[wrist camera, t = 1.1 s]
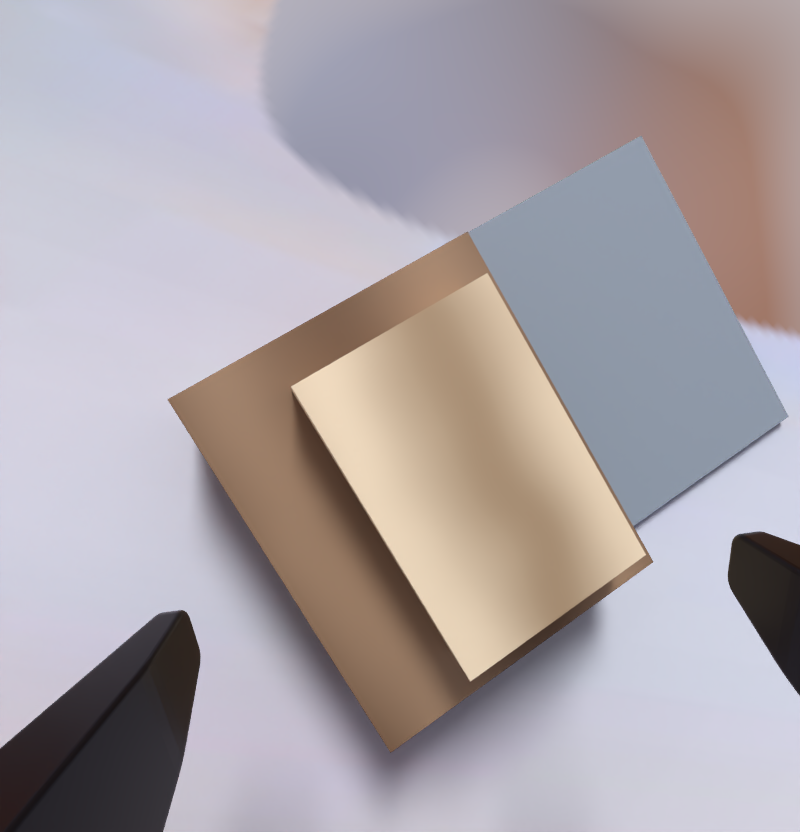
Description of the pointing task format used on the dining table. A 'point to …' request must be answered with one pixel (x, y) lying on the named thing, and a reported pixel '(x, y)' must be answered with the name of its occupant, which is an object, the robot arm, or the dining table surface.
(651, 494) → the mat
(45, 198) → the dining table surface
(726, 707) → the dining table surface
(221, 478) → the brown wooden flat block
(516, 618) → the beige rectangular block
